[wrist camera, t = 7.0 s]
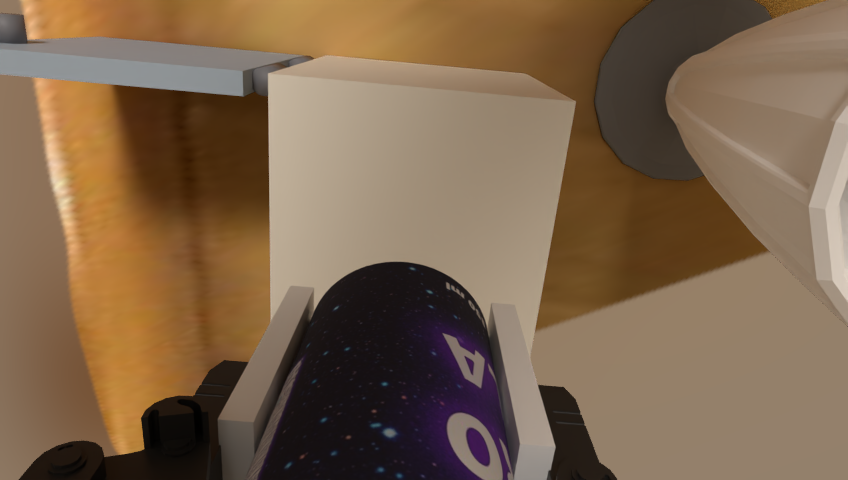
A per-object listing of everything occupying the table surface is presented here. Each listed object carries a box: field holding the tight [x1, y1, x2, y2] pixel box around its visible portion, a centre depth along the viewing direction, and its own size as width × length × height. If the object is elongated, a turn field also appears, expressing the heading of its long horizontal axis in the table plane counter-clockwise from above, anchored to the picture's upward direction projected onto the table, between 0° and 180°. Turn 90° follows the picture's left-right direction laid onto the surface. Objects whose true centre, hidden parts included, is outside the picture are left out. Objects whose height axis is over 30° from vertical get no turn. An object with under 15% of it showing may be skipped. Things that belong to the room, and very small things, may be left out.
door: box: [0, 13, 314, 96], centre depth 28 cm, size 2×13×12 cm, turn 85°
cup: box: [594, 0, 848, 327], centre depth 24 cm, size 12×12×22 cm
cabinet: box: [268, 55, 576, 356], centre depth 31 cm, size 14×12×13 cm
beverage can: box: [245, 262, 514, 480], centre depth 13 cm, size 6×6×12 cm
